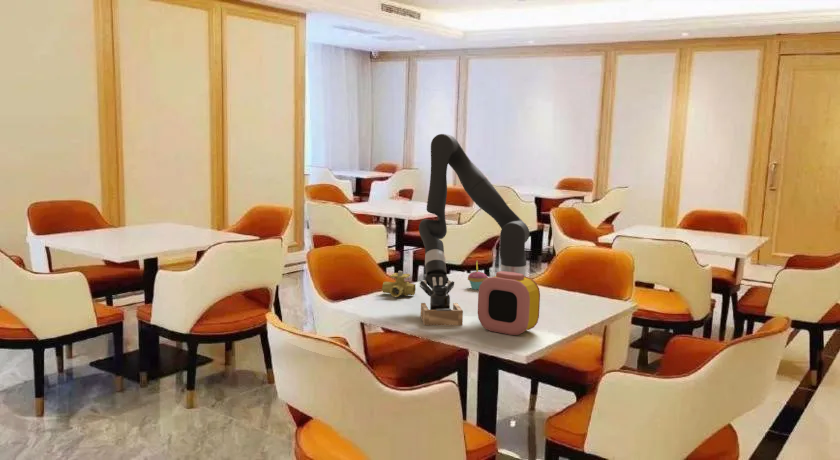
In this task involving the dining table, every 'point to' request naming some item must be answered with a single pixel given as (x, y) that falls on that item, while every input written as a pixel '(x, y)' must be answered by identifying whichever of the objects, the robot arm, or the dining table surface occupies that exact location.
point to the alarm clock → (508, 303)
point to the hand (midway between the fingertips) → (438, 305)
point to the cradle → (442, 315)
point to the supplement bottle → (439, 298)
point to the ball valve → (399, 285)
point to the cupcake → (476, 278)
